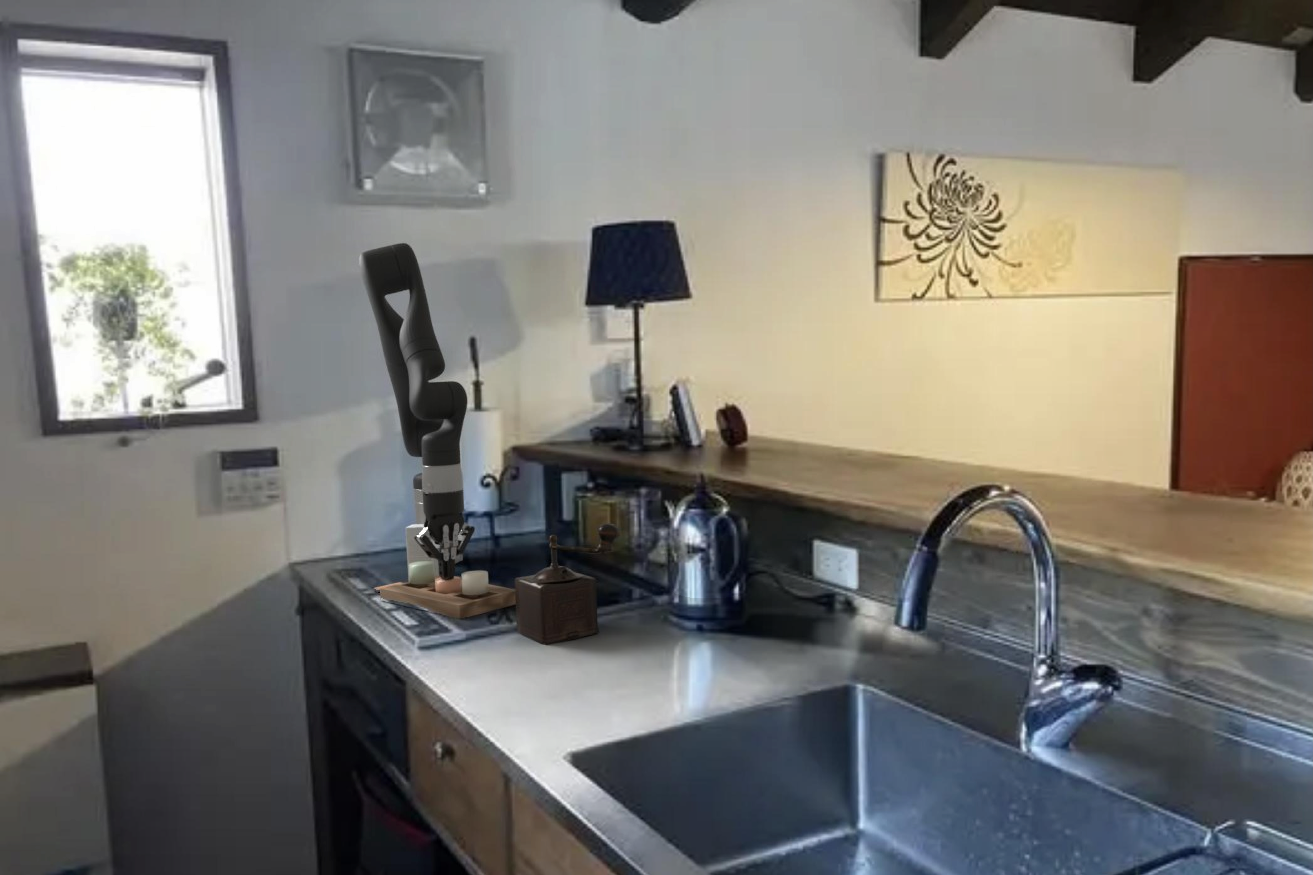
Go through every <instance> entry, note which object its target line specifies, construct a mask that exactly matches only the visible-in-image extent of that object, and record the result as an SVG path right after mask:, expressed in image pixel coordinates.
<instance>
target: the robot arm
mask: <svg viewBox="0 0 1313 875" xmlns="http://www.w3.org/2000/svg"><path fill="white" fill-rule="evenodd" d="M358 262H359V263H358V264H359V266H358V267H359V271H360V275H361V279H362V281H363V286H364V288H365V291H366V294H367V297H368V300H369V303H370V307H371V309H372V313H373V315H374V316H373V317H374V319H375V322H376V326H377V330H378V334H379V339H380V342H381V348H382V352H383V357H384V361H385V365H386V368H387V373H388V375H389V378H390V382H391V386H392V389H393V392H394V397H395V400H396V405H397V410H398V416H399V423H400V427H401V428H400V429H401V434H402V440H403V444H404V448H405V451H406V452H407V453H408V455H409V456H411V457H414V458H422V460H421V461H422V464H421V465H422V469H421V470H422V471H421V472H420V473H417V474H415V475H414V476H413V479H412V485H413V486H412V487H413V502H414V521H415V523H414V524H424V529H423V530H422V532H421V533H420V534H416V535H415V536H414V539H415V540H416V542H417V543H418V544H419V545H420V547H421V548H422V549H423V550H424V552H425V553H426V554H427V555H428V557H429V558H435V559H437V560H438V569H439V576H440V577H441V579H442V580H450V579H453V578H454V576H456V564H457V563H459V562H462V561H463V554H464V551H466V548H467V546H468V544H469V542H470V541H471V538H472V536H473V535H474V532H475V529H476V528H475V526H472V525H469V524H467V522H465V517H464V515H463V512H464V511H465V501H464V500H465V499H464V477H463V471H462V470H463V469H462V462H461V444H460V443H461V437H462V431H463V426H464V422H465V417H466V412H467V409H468V396H467V395H468V394H467V392H466V389H465V387H464V386H463V384H461V383H460V382H458V381H454V380H449V381H446V380H445V381H432V380H434V379H437V378H439V377H440V376H441V375H443V373H444V372H445V370H446V363H445V359H444V356H443V353H442V350H441V347H440V344H439V342H438V339H437V336H436V333H435V329H434V326H433V323H432V322H433V321H432V317H431V312H430V308H429V303H428V298H427V293H426V290H425V285H424V281H423V280H424V279H423V277H422V276H423V275H422V272H421V269H420V264H419V261H418V258H417V256H416V253H415V252H414V249H413V248H412V247H411V245H410V244H408V243H406V242H401V243H395V244H390V245H386V246H382V247H377V248H373V249H368V250H366V251H363V252H361V253H360V255H359V259H358ZM404 291H409V302H408V305H407V309H406V313H405V316H404V318H403V317H402V316H401V315H400V314H399V313H397V311H396V310H395V309H394V308H393V306H392V305H391V304H390V303H389V302H388V300H387V299H386V296H388V295H393V294H396V293H402V292H404ZM430 381H431V382H430ZM430 537H431V538H432V540H433V543H432V542H431V541H430V540H431V538H430Z"/></svg>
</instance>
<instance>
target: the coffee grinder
mask: <svg viewBox="0 0 1313 875" xmlns="http://www.w3.org/2000/svg"><path fill="white" fill-rule="evenodd" d="M596 533H597V536H598V538H599V544H598V545H597V547H596V548H591V547H590V548H589V547H582V546H570V545H569V546H564V545H559V544H558V543H557V540H558V537H557V535H555V534H551V535H550V536H549V537H548V538H549V539H548V540H549V542H550V543H549V544H548V547H549V549H550V555H551V558H550V559H551V563H550V566H547V567H545V568H543V569H541V570H539V571H537V572H536V574H532V575H527V576H520V577H514V578H515V579H514V589H515V600H516V604H515V616H516V618H515V619H516V620H515V621H516V633H518V634H519V635H521V636H523V637H525V638H528V639H530V640H532V641H534V642H536V643H539V644H541V645H545V646H547V645H552V644H553V645H554V644H557V643H562V642H563V643H564V642H567V641H572V640H577V639H579V638H583V637H587V636H591V635H595V634H598V633H600V630H599V624H598V621H599V620H598V601H597V599H598V597H597V596H598V595H597V578H595V577H592V576H589V575H586V574H582V573H578V572H575V571H573V570H572V569H570V568H569V567H566V566H562V565H559V563H558V556H557V553H558V552H557V551H558V550H559V551H561V552H571V553H573V552H575V553H585V554H591V555H592V554H593V555H594V554H595V555H596V554H603V555H605V554H607V553H608V552H614V551H615V550H614V545H613V544H614V543H615V542H616V541H617V540H618V539H619V538H620V534H621V530H620V528H619V527H618V526H616V524H613V523H606V522H604V523H601V524H599V525H598V527H597V528H596Z"/></svg>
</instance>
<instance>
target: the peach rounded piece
mask: <svg viewBox="0 0 1313 875" xmlns="http://www.w3.org/2000/svg"><path fill="white" fill-rule="evenodd" d="M461 579H462V577H461V576H456V575H454V578H453V579H450V580H442V579H441V578H437V579H435V589H436V593H441V594H449V593H454V592H458V591H461Z"/></svg>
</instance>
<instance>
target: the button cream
mask: <svg viewBox="0 0 1313 875" xmlns="http://www.w3.org/2000/svg"><path fill="white" fill-rule="evenodd" d="M460 577H461V579H462V593H463V594H465V595H480V594H485V593H487V592H489V586H488V584H489V572H488V571H487V570H468V571H464V572H462V573H461V576H460Z"/></svg>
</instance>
